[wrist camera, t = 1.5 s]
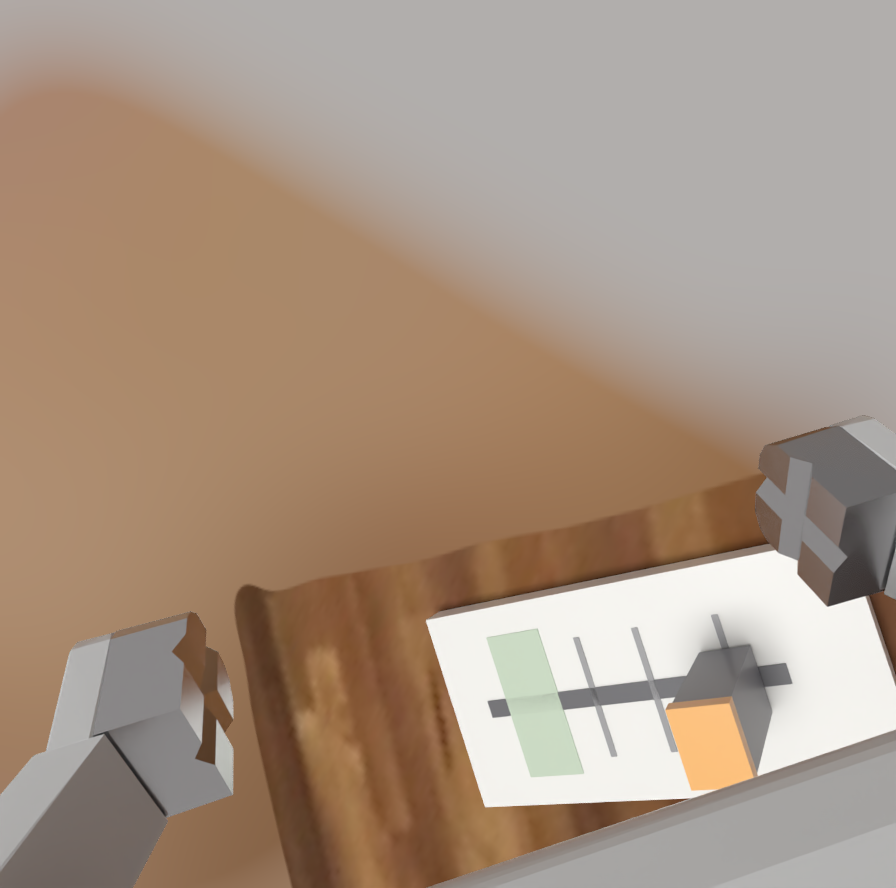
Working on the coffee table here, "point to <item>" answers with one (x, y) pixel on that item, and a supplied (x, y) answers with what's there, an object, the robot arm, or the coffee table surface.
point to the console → (652, 675)
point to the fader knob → (721, 718)
